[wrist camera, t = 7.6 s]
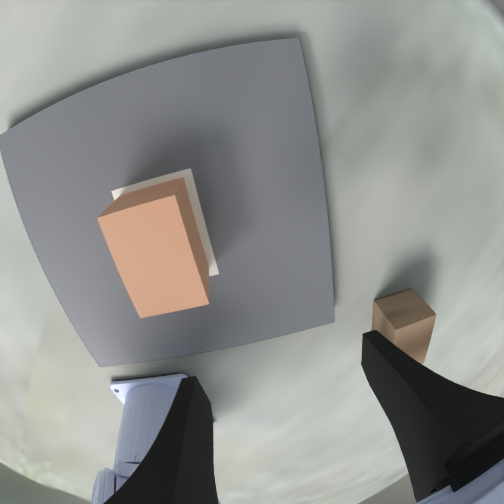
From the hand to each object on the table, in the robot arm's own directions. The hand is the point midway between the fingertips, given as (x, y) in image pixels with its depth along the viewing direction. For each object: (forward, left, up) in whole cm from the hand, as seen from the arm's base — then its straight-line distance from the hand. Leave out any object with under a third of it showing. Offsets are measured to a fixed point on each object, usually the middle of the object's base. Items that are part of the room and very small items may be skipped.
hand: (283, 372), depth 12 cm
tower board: (+4, +5, -10) cm, 12 cm away
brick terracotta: (+4, +5, -9) cm, 11 cm away
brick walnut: (-9, -11, -10) cm, 18 cm away
